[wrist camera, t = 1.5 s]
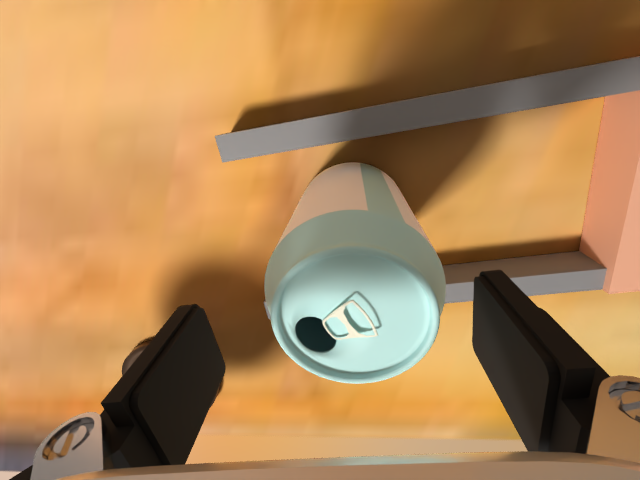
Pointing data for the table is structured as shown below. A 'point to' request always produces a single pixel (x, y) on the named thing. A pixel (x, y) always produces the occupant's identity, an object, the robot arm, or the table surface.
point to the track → (494, 99)
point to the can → (354, 279)
